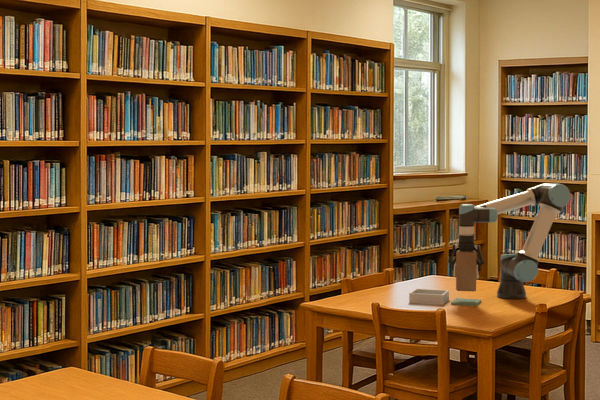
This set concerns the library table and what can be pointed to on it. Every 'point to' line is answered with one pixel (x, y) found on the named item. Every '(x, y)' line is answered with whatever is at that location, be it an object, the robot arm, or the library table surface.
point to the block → (466, 270)
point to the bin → (429, 296)
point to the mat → (466, 302)
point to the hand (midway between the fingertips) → (466, 277)
